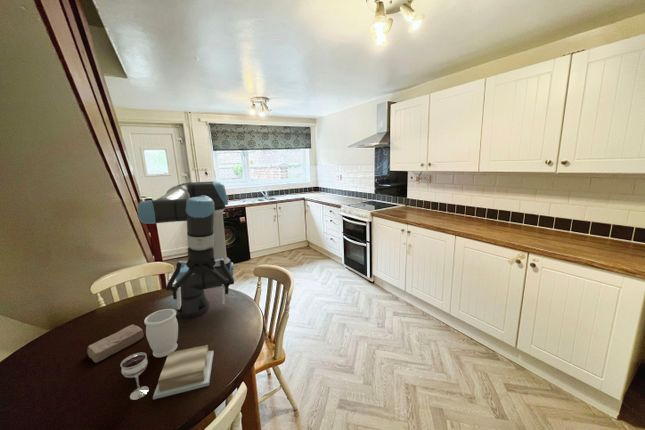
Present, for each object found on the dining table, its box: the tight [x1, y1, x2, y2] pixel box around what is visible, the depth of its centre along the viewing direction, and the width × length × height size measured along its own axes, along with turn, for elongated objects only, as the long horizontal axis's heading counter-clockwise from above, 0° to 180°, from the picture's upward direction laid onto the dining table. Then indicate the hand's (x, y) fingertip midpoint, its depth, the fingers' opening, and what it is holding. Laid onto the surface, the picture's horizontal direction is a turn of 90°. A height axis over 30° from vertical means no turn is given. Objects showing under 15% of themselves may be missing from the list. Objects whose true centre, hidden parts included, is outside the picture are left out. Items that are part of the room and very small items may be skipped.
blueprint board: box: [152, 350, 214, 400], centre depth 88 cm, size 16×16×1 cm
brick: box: [86, 324, 144, 364], centre depth 103 cm, size 17×8×5 cm, turn 151°
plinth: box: [157, 344, 210, 391], centre depth 88 cm, size 13×13×4 cm
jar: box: [143, 308, 179, 358], centre depth 99 cm, size 11×10×15 cm
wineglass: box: [120, 351, 150, 401], centre depth 80 cm, size 7×7×12 cm
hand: (202, 304), depth 86 cm, fingers open, 13 cm apart
